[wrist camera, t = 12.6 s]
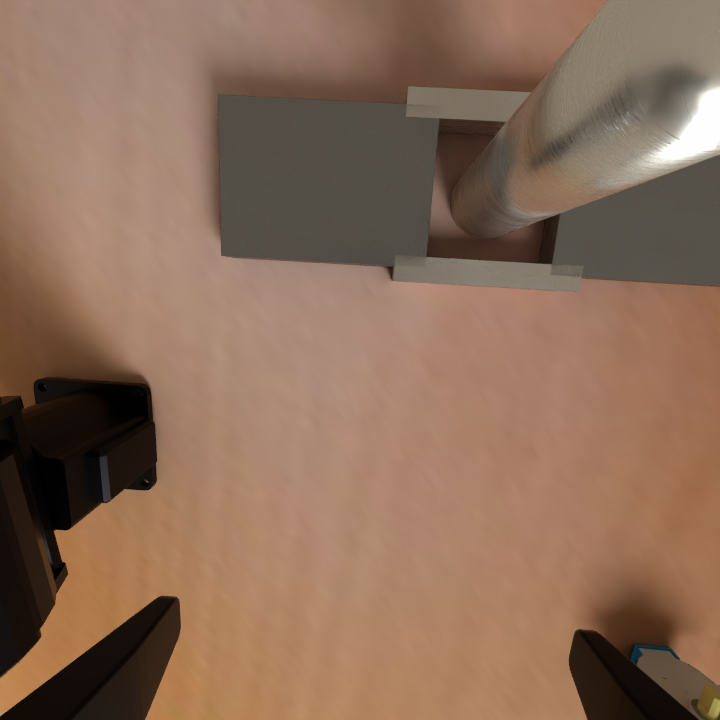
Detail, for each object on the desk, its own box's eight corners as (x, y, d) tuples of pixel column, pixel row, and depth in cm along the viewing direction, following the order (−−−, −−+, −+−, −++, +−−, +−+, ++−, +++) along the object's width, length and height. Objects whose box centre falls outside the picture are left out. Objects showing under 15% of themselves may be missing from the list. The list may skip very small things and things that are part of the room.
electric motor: (712, 630, 23) (803, 723, 18) (692, 689, 24) (773, 793, 19) (603, 619, 23) (664, 709, 18) (587, 679, 24) (641, 779, 19)
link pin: (438, 220, 19) (579, 87, 6) (472, 150, 18) (715, -175, 5) (500, 251, 19) (767, 184, 6) (536, 182, 18) (923, -55, 5)
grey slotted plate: (232, 271, 19) (221, 270, 18) (230, 93, 18) (217, 76, 16) (728, 301, 19) (757, 302, 17) (776, 121, 17) (813, 106, 16)
